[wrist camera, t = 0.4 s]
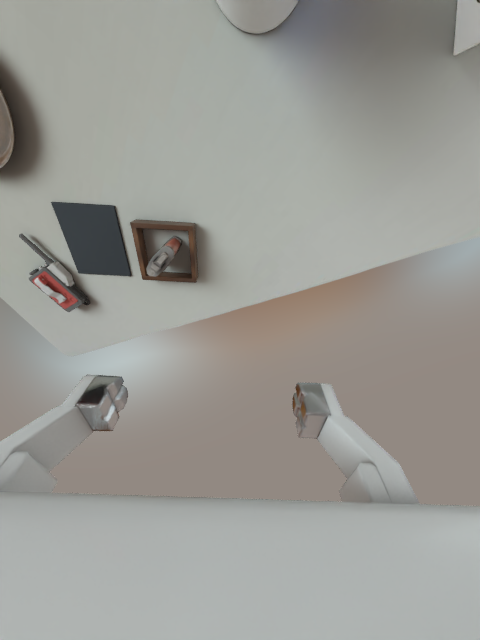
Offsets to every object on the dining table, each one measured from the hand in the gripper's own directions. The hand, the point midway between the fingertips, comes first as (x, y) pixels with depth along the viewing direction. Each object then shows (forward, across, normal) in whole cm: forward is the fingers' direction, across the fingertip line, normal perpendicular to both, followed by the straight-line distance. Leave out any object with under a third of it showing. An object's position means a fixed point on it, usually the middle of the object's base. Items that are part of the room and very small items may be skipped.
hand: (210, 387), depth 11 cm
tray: (+46, +16, +9) cm, 49 cm away
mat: (+46, +33, +8) cm, 57 cm away
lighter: (+46, +16, +9) cm, 49 cm away
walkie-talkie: (+46, +46, +16) cm, 67 cm away
